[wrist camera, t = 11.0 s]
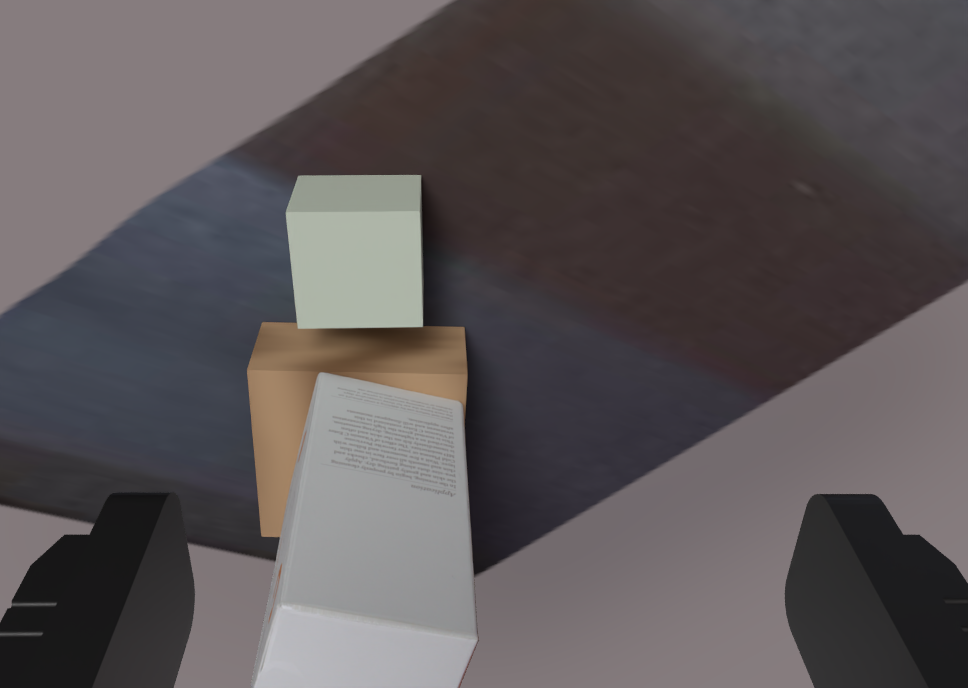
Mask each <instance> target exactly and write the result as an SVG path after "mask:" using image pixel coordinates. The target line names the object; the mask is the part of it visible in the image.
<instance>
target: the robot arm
mask: <svg viewBox="0 0 968 688" xmlns="http://www.w3.org/2000/svg"><path fill="white" fill-rule="evenodd" d="M194 601H195V589H194V579H193V573H192V567H191V562H190V556H189V550H188V545H187V539H186V533H185V528H184V522H183V516H182V511H181V505H180V501H179V498H178V496H177V495H176V494H175V493H173V492H115V493H112V494H110V495H109V497H108V498H107V500H106V501H105V503H104V505H103V508H102V510H101V512H100V514H99V516H98V518H97V520H96V522H95V524H94V526H93V529H92V531H91V533H90V535H64V536H63V537H61V538H60V539H59V540H58V541H57V542H56V543H55V544H54V545H53V546H52V547H50V548H49V549H48V550H47V551H46V552H45V553H44V554H43V555H42V556H41V557H40V558H38V559H37V560H36V561H35V562H34V563H33V564H32V565H31V566H30V568H29V570H28V571H27V573H26V575H25V577H24V579H23V581H22V583H21V584H20V587H19V588H18V590H17V592H16V594H15V596H14V598H13V599H12V607H11V608H9V609H7V611H6V613H5V615H4V616H3V618H2V620H1V622H0V688H174V684H175V681H176V678H177V674H178V671H179V668H180V664H181V661H182V658H183V654H184V651H185V648H186V644H187V641H188V638H189V634H190V631H191V626H192V621H193V614H194ZM785 606H786V614H787V618H788V623H789V626H790V629H791V632H792V635H793V637H794V639H795V642H796V644H797V646H798V649H799V651H800V654H801V656H802V659H803V661H804V663H805V666H806V668H807V671H808V673H809V675H810V678H811V680H812V683H813V685H814V687H815V688H968V583H967V582H966V580H965V579H964V577H963V576H962V574H961V573H960V571H959V570H958V568H957V567H956V565H955V564H954V563H953V562H952V561H950V560H949V559H948V558H947V557H946V556H944V555H943V554H942V553H941V552H939V551H938V550H937V549H936V548H935V547H934V546H932V545H931V544H930V543H929V542H927V541H926V540H925V539H924V538H923V537H921V536H920V535H903V534H902V532H901V530H900V529H899V527H898V526H897V524H896V522H895V521H894V519H893V517H892V516H891V514H890V513H889V511H888V509H887V508H886V506H885V505H884V503H883V502H882V500H881V499H880V498H879V497H877V496H876V495H873V494H816V495H814V496H812V498H810V500H809V502H808V504H807V507H806V510H805V514H804V517H803V521H802V524H801V528H800V532H799V536H798V539H797V543H796V546H795V550H794V554H793V558H792V561H791V565H790V568H789V573H788V576H787V580H786V586H785Z"/></svg>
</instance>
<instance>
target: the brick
mask: <svg viewBox="0 0 968 688" xmlns="http://www.w3.org/2000/svg"><path fill="white" fill-rule="evenodd" d="M286 219H287V229H288V239H289V248H290V258H291V267H292V277H293V287H294V296H295V306H296V315H297V325H298V329H317V328H391V327H423V292H424V278H423V236H422V194H421V175H347V176H298V179H297V182H296V184H295V187H294V190H293V193H292V196H291V199H290V202H289V204H288V207H287V210H286Z"/></svg>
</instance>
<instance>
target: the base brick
mask: <svg viewBox="0 0 968 688" xmlns="http://www.w3.org/2000/svg"><path fill="white" fill-rule="evenodd" d="M321 372H324V373H330V374H335V375H339V376H344V377H349V378H354V379H359V380H363V381H368V382H373V383H377V384H382V385H386V386H390V387H395V388H400V389H404V390H409V391H414V392H419V393H423V394H428V395H432V396H437V397H442V398H447V399H452V400H457V401H459V402H460V403H462V404H463V412H464V429H465V411H466V393H467V375H468V374H467V359H466V343H465V327H443V326H423V327H391V328H317V329H298V325H297V323H279V322H262V325H261V328H260V331H259V334H258V338H257V341H256V344H255V347H254V350H253V353H252V356H251V359H250V363H249V366H248V369H247V375H248V386H249V398H250V409H251V421H252V432H253V444H254V455H255V466H256V478H257V489H258V501H259V512H260V524H261V535H262V537H280V536H281V530H282V525H283V519H284V514H285V508H286V503H287V499H288V494H289V489H290V485H291V480H292V476H293V472H294V468H295V464H296V460H297V456H298V451H299V447H300V443H301V439H302V435H303V431H304V427H305V423H306V419H307V415H308V411H309V407H310V403H311V399H312V395H313V391H314V387H315V384H316V380H317V377H318V374H319V373H321Z"/></svg>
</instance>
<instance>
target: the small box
mask: <svg viewBox="0 0 968 688" xmlns="http://www.w3.org/2000/svg"><path fill="white" fill-rule="evenodd" d="M474 585H475V584H474V570H473V555H472V539H471V524H470V508H469V492H468V476H467V461H466V445H465V429H464V412H463V404H462V403H460V402H459V401H457V400H452V399H447V398H442V397H437V396H432V395H428V394H423V393H419V392H414V391H409V390H404V389H400V388H395V387H390V386H386V385H382V384H377V383H373V382H368V381H363V380H359V379H354V378H349V377H344V376H339V375H335V374H330V373H324V372H321V373H319V374H318V377H317V380H316V384H315V387H314V391H313V395H312V399H311V403H310V407H309V411H308V415H307V419H306V423H305V427H304V431H303V435H302V439H301V443H300V447H299V451H298V456H297V460H296V464H295V468H294V472H293V476H292V480H291V485H290V489H289V494H288V499H287V503H286V508H285V514H284V519H283V525H282V530H281V536H280V541H279V547H278V552H277V558H276V563H275V568H274V573H273V578H272V583H271V588H270V593H269V598H268V604H267V608H266V613H265V618H264V623H263V628H262V633H261V638H260V643H259V647H258V652H257V657H256V662H255V667H254V673H253V678H252V682H251V688H459V687H460V685H461V683H462V680H463V678H464V675H465V673H466V670H467V668H468V665H469V663H470V660H471V658H472V655H473V653H474V650H475V648H476V645H477V643H478V641H479V637H478V631H477V616H476V601H475V586H474Z"/></svg>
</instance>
